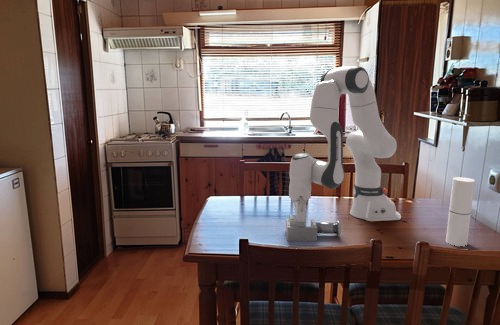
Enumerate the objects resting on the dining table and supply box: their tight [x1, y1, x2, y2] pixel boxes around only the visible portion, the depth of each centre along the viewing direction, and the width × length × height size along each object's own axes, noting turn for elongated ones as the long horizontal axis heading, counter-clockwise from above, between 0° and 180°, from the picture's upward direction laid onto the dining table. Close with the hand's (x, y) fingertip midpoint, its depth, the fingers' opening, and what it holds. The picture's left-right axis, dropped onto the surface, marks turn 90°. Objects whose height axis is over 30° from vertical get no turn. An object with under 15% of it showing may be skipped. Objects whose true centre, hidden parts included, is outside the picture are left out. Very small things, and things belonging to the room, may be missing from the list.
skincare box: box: [288, 214, 307, 227], centre depth 146 cm, size 6×6×7 cm
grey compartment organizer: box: [285, 217, 342, 242], centre depth 146 cm, size 21×10×6 cm, turn 88°
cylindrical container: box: [445, 176, 476, 247], centre depth 138 cm, size 7×7×25 cm
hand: (298, 225), depth 152 cm, fingers closed
